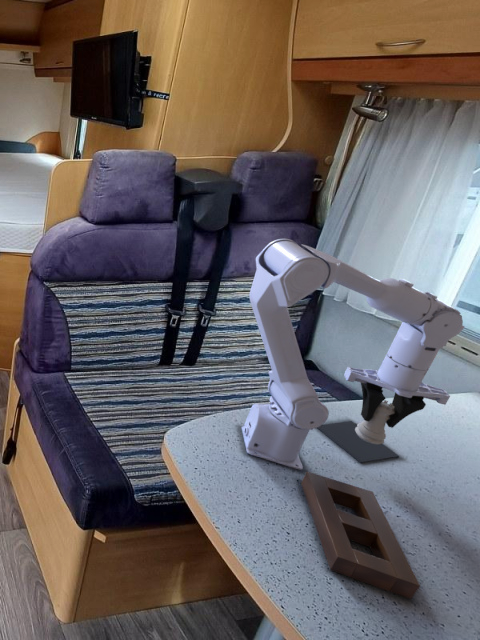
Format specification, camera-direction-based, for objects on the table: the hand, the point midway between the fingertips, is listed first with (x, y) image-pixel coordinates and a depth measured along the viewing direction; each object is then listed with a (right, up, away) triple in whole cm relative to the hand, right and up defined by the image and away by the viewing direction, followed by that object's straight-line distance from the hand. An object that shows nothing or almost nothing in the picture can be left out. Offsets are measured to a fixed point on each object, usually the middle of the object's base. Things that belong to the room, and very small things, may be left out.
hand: (376, 420), depth 87 cm
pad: (+4, -8, +9) cm, 13 cm away
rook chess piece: (0, -4, +1) cm, 4 cm away
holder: (-14, -15, -11) cm, 23 cm away
